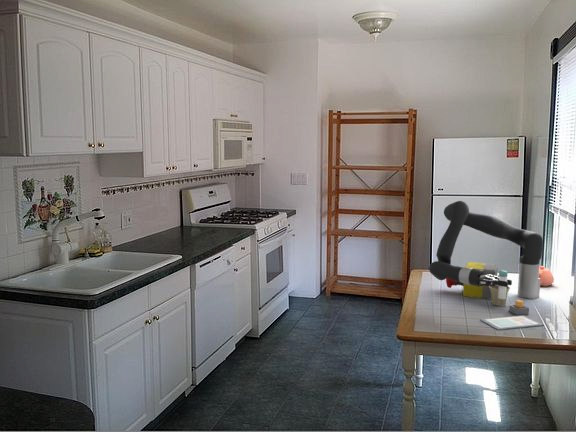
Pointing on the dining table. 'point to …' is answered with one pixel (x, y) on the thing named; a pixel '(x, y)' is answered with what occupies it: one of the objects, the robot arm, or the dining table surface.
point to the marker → (501, 288)
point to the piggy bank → (545, 276)
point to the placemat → (511, 322)
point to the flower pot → (495, 296)
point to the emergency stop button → (475, 290)
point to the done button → (519, 303)
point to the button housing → (518, 310)
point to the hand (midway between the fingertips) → (509, 283)
